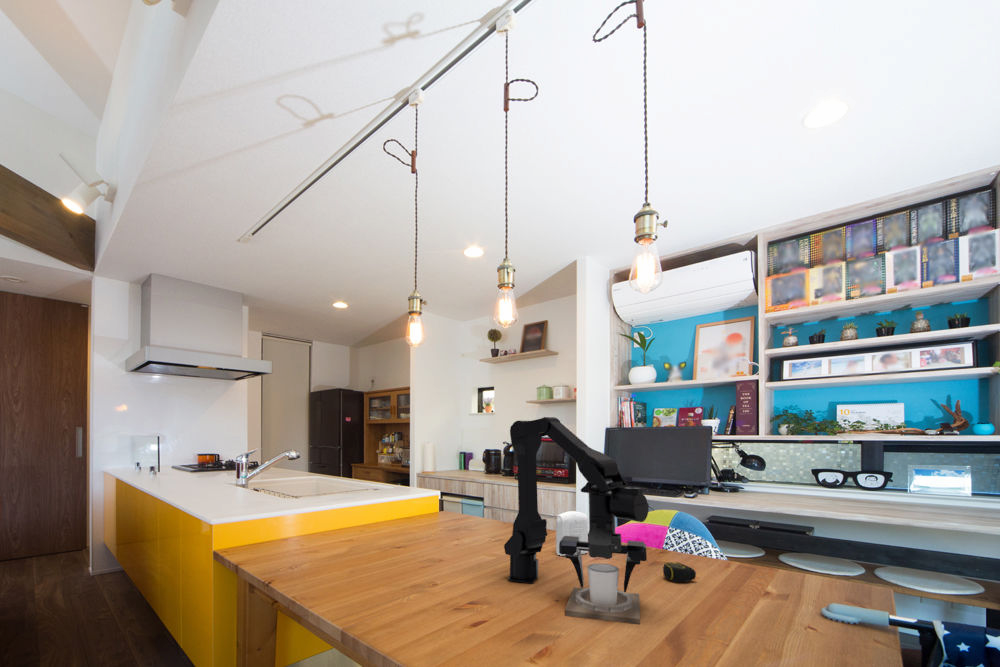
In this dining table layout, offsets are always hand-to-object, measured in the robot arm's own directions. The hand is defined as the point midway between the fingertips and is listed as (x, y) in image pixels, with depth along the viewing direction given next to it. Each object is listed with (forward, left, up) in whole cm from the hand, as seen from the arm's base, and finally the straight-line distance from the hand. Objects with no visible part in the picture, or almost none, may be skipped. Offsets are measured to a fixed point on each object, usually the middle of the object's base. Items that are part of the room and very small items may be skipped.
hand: (603, 589), depth 108 cm
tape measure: (+18, +25, -4) cm, 31 cm away
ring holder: (0, 0, -4) cm, 4 cm away
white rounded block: (-12, +41, -4) cm, 43 cm away
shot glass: (0, 0, -3) cm, 3 cm away
